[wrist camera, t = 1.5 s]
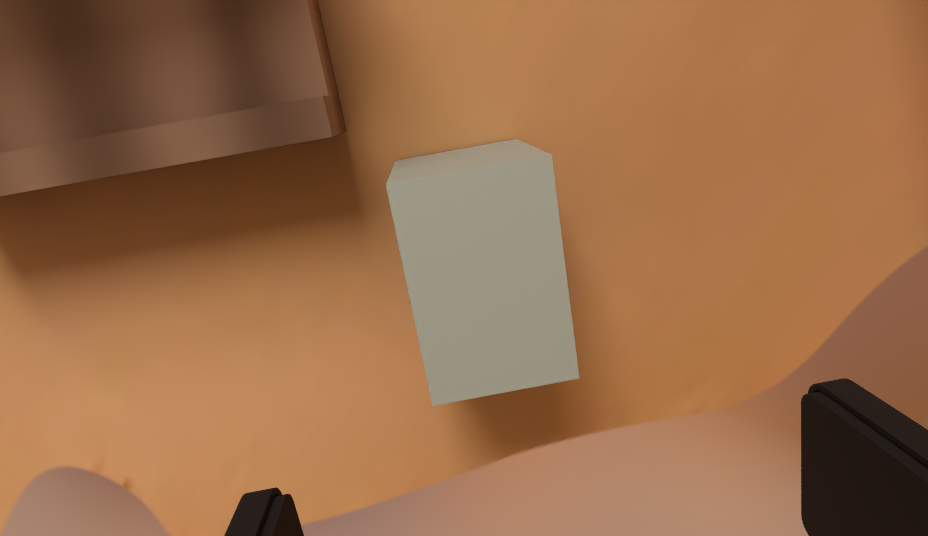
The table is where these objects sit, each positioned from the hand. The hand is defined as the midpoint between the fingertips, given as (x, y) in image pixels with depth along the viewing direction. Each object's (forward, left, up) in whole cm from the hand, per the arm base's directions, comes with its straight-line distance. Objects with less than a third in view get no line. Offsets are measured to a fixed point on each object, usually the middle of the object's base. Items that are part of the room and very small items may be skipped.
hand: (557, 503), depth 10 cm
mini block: (0, 0, -20) cm, 20 cm away
